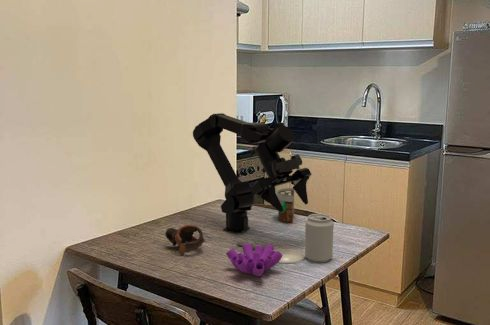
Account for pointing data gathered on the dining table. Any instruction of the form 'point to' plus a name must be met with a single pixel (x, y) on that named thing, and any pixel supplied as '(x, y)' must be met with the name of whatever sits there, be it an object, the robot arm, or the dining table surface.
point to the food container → (286, 204)
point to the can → (319, 237)
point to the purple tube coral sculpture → (254, 259)
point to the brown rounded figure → (185, 238)
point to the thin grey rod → (243, 244)
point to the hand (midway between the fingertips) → (294, 207)
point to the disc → (290, 256)
